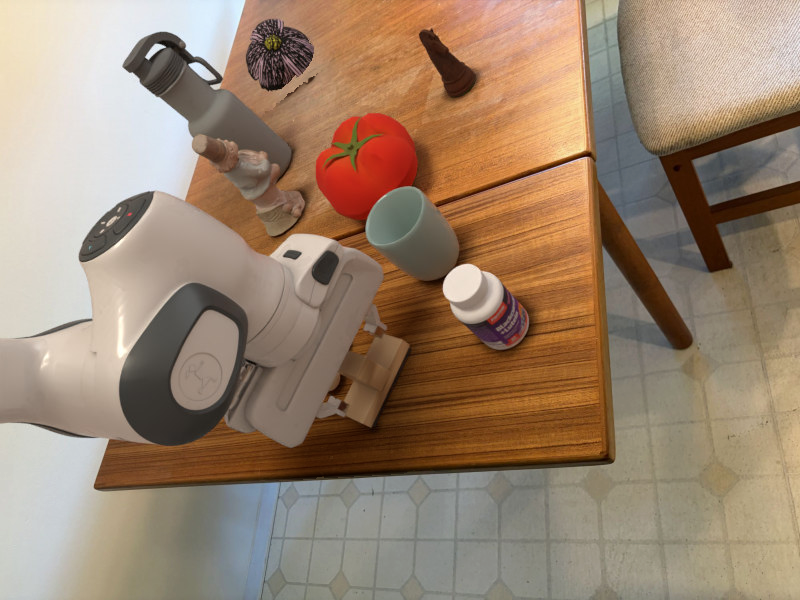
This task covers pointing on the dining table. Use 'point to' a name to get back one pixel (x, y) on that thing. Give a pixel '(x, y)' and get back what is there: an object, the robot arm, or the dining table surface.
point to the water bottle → (202, 98)
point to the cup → (413, 234)
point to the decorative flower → (277, 54)
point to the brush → (373, 377)
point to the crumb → (335, 382)
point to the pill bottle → (485, 306)
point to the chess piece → (447, 65)
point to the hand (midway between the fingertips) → (362, 370)
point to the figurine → (253, 181)
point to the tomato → (365, 163)
